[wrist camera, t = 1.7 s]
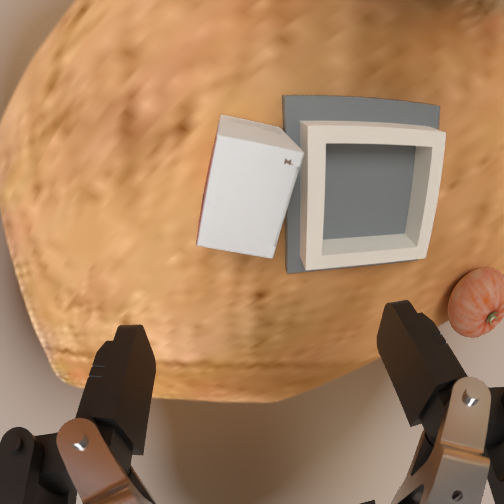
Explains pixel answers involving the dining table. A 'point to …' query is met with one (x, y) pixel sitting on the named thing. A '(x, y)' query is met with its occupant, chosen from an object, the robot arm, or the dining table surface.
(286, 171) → the small box
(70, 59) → the dining table surface
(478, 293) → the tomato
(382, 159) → the socket board
